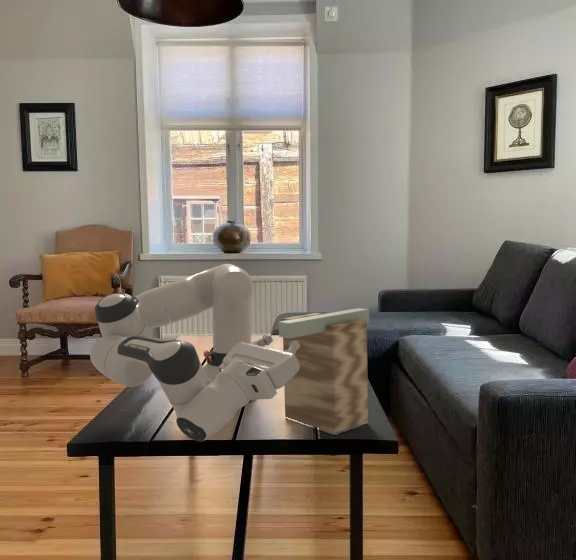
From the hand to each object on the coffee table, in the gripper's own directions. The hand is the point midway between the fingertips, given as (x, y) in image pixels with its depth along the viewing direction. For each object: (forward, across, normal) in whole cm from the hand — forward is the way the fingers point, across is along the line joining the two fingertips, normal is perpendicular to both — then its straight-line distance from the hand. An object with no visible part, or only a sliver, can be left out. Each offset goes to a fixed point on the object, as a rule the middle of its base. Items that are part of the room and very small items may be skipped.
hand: (283, 339), depth 140 cm
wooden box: (+3, -5, -30) cm, 31 cm away
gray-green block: (+12, 0, -7) cm, 14 cm away
